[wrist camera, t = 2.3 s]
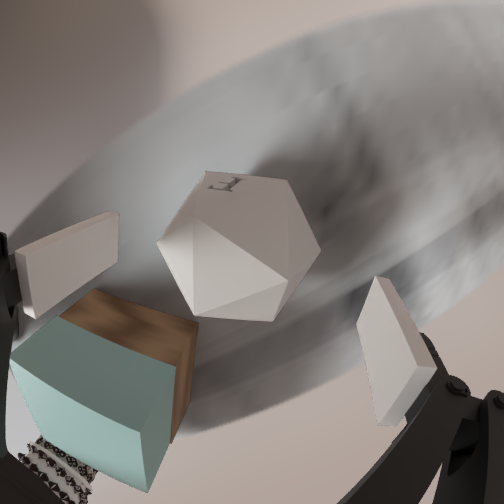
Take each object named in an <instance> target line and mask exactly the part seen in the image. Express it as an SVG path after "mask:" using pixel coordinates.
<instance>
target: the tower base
mask: <svg viewBox="0 0 504 504" xmlns="http://www.w3.org/2000/svg"><path fill="white" fill-rule="evenodd" d="M59 317H60V318H62V319H64V320H66V321H68V322H70V323H72V324H74V325H76V326H78V327H81V328H83V329H85V330H87V331H89V332H91V333H93V334H95V335H98V336H100V337H102V338H104V339H107V340H109V341H111V342H113V343H116V344H118V345H120V346H123V347H125V348H128V349H130V350H133V351H135V352H138V353H140V354H143V355H145V356H148V357H150V358H153V359H156V360H158V361H161V362H164V363H167V364H169V365H172V366H175V367H176V372H175V383H174V394H173V406H172V420H171V436H170V443H172V442H173V440H174V437H175V435H176V433H177V430H178V428H179V426H180V424H181V421H182V419H183V417H184V414H185V412H186V410H187V407H188V405H189V403H190V394H191V384H192V374H193V365H194V356H195V348H196V339H197V331H198V323H197V322H193V321H190V320H186V319H183V318H180V317H176V316H173V315H170V314H166V313H163V312H160V311H157V310H154V309H151V308H147V307H144V306H141V305H138V304H135V303H132V302H129V301H126V300H124V299H121V298H118V297H115V296H112V295H109V294H106V293H104V292H101V291H98V290H96V289H93V290H92V291H90V292H89V293H88V294H86V295H85V296H84V297H82V298H81V299H80V300H79V301H77V302H76V303H75V304H74V305H72V306H71V307H70V308H69V309H67V310H66V311H65V312H63V313H62V314H61V315H60V316H59Z"/></svg>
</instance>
